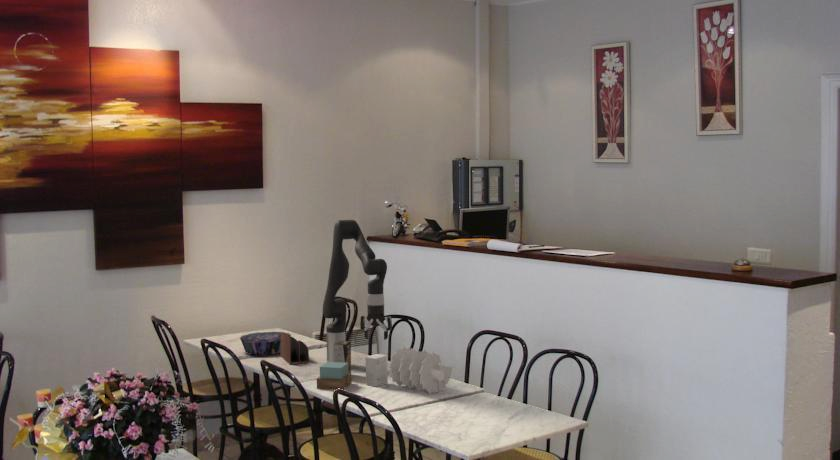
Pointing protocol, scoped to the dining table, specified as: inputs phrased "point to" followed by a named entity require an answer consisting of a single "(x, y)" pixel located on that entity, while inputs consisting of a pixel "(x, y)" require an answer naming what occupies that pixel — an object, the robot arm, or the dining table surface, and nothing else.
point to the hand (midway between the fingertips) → (376, 339)
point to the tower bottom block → (333, 382)
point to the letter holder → (293, 350)
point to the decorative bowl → (262, 343)
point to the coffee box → (342, 353)
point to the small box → (376, 370)
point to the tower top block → (334, 370)
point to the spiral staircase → (419, 370)
